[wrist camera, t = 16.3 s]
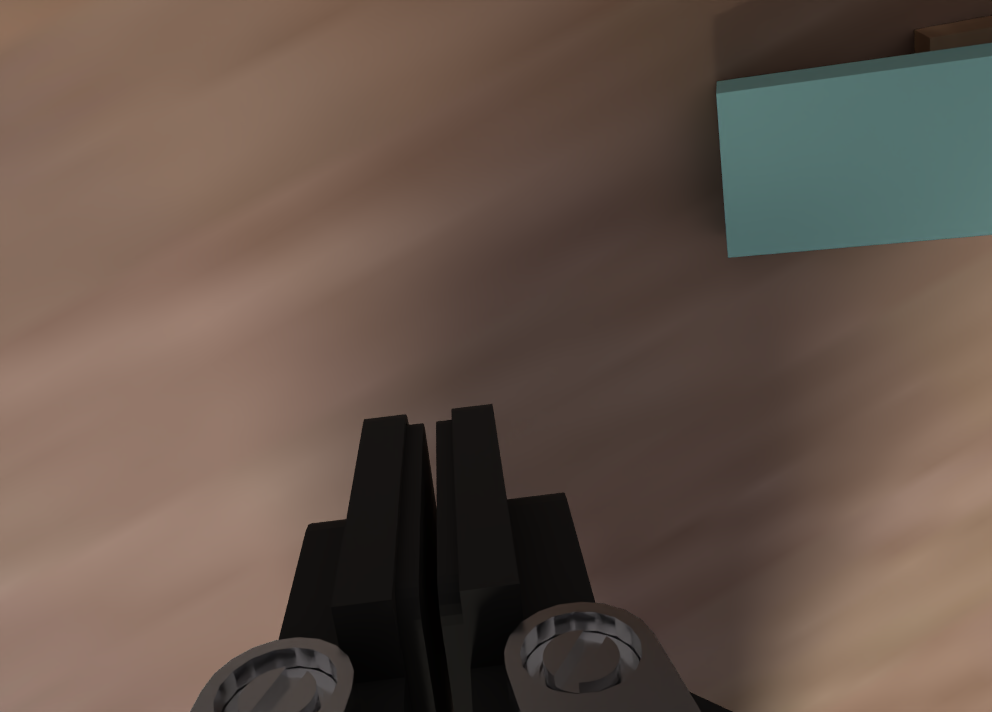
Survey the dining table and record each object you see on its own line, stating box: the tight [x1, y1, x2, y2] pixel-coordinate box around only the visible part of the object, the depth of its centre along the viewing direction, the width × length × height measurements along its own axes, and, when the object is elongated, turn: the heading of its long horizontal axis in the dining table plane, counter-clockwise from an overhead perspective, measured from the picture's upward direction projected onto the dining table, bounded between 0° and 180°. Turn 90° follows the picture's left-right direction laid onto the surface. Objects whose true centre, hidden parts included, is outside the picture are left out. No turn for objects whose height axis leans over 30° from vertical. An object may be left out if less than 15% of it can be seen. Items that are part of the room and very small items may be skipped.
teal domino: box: [716, 43, 992, 258], centre depth 26 cm, size 2×5×10 cm
